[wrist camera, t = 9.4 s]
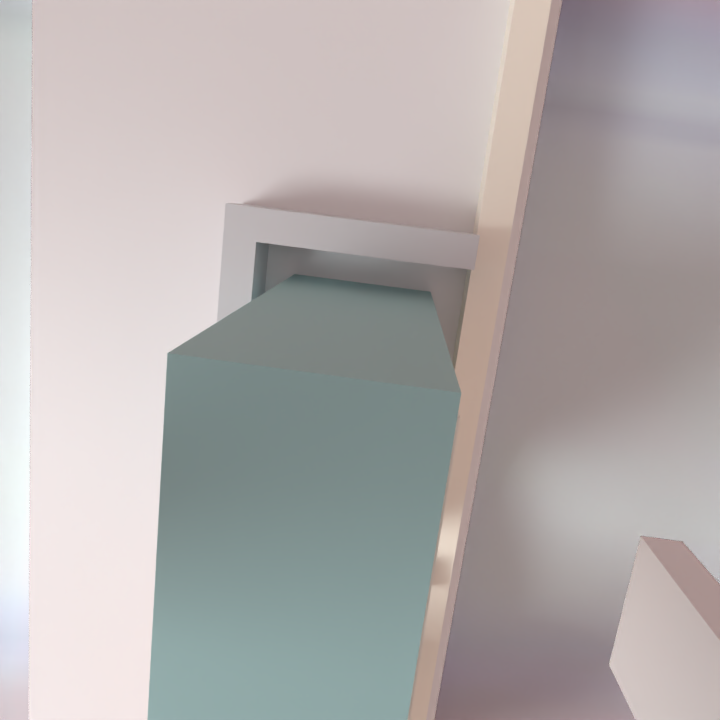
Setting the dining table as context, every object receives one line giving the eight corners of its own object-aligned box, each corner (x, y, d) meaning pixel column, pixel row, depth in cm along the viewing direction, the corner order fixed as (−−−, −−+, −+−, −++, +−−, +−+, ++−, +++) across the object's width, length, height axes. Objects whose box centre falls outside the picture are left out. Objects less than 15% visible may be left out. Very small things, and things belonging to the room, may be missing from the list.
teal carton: (269, 495, 24) (136, 779, 12) (290, 273, 22) (159, 352, 10) (401, 514, 23) (398, 821, 12) (434, 292, 22) (470, 394, 10)
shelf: (47, 727, 28) (-2, 798, 25) (60, -263, 20) (-10, -359, 17) (416, 785, 28) (417, 866, 24) (590, -208, 19) (629, -296, 16)
